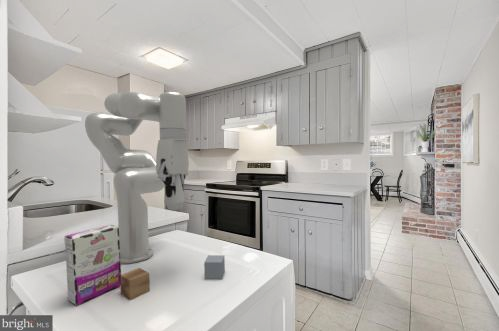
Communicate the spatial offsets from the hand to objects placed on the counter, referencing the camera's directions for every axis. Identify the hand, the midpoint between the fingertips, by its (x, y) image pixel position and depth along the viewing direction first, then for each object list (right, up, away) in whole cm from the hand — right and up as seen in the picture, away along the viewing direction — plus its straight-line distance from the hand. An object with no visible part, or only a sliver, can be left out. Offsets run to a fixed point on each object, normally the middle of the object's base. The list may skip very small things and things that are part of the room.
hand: (174, 197), depth 71 cm
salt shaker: (0, -3, 0) cm, 3 cm away
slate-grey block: (+12, -23, 0) cm, 26 cm away
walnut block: (-8, -24, -9) cm, 26 cm away
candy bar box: (-18, -24, -8) cm, 31 cm away
